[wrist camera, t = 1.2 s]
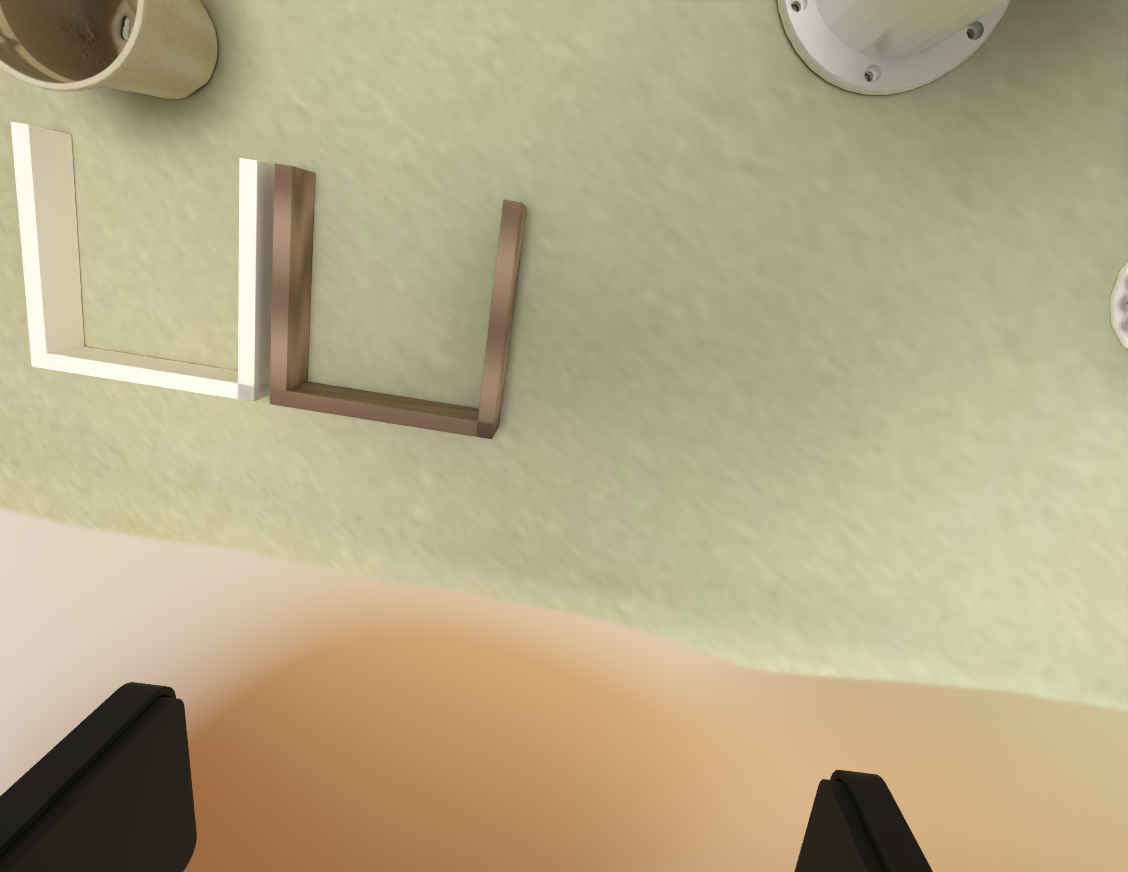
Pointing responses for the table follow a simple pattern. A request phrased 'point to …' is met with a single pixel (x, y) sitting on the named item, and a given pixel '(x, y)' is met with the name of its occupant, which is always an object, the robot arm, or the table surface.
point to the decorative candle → (1120, 306)
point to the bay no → (294, 322)
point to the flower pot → (109, 45)
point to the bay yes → (58, 285)
